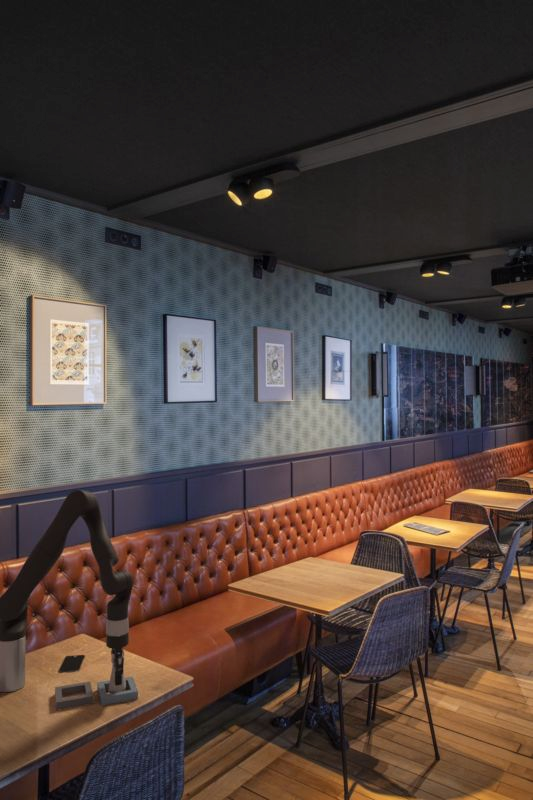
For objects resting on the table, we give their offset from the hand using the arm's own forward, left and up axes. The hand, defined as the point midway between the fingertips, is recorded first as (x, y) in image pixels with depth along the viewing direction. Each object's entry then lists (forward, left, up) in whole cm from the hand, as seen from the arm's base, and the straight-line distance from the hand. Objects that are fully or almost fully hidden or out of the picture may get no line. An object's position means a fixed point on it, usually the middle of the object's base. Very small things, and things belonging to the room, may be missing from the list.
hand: (117, 681), depth 198 cm
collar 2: (0, 0, -4) cm, 4 cm away
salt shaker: (0, 0, -5) cm, 5 cm away
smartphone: (-13, +32, -5) cm, 35 cm away
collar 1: (-14, +2, -4) cm, 15 cm away
